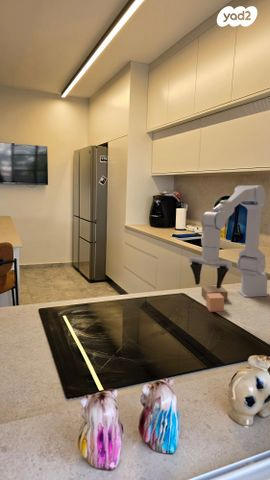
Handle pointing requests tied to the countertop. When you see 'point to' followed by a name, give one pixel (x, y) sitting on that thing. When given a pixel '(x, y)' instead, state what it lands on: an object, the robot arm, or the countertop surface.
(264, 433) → the countertop surface
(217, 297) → the terracotta cube
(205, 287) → the walnut block
